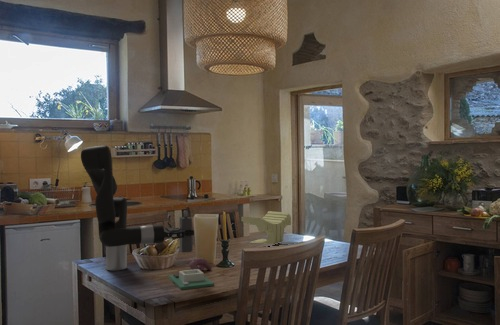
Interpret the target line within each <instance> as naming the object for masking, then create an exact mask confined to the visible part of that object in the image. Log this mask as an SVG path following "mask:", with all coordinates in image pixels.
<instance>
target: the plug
mask: <svg viewBox="0 0 500 325" xmlns="http://www.w3.org/2000/svg"><path fill="white" fill-rule="evenodd" d="M188 213H189V212H188V210H183V217H179V229H180V230H193V229H192V228H193V226H192V224H193V223H192V222H193V221H192V217H190V216H189V217H188ZM180 235H182V233H180ZM193 241H194V240H193V236H185V237H184V238H179V252H180V253H192V252H193Z"/></svg>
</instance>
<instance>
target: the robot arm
mask: <svg viewBox="0 0 500 325" xmlns="http://www.w3.org/2000/svg"><path fill="white" fill-rule="evenodd" d="M80 161H81V163H82V166H83V169H84V170H85V172H86V173H87V175H88V177H89V179H90V181H91V184H92V187H93V189H94V191H95V193H96V197H95V201H94V202H95V203H94V204H95V210H96V218H97V224H98V225H97V227H98V237H99V241H100V243H101V244H102V245H104V246H105V256H106V257H105V265H106V267H105V269H106V270H107V271H122V270H125V269H127V261H128V260H127V258H128V257H127V255H128V254H127V252H128V251H127V247H128V246H127V245H152V244H153V245H155V244H163V243H164V241H165V239H168V240H170V239H171V240H175V239H180V238H184V237H185V236H192V237H193V236H194V235H195V230H193V229H192V230H180V227H164V225H163V224H148V225H141V226H140V225H139V226H129V227H127V223H128V222H127V221H128V220H127V218H128V217H127V215H128V200H127V199H126V197H121V196H120V197H114V196H115V195H116V192H117V190H118V185H117V181H116V179H115V176H114V175H113V158H112V153H111V150H110V147H109V146H108V145H106V144H105V145H97V146H89V147H88V146H87V147H85V148H83V149H82V150H81V151H80ZM116 218H118V220H117V221H116ZM180 233H182V235H180Z"/></svg>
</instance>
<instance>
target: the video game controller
mask: <svg viewBox="0 0 500 325" xmlns="http://www.w3.org/2000/svg"><path fill="white" fill-rule="evenodd" d="M188 264H189V267H190V270H194V269H199V270H200V271H204V269H206V270H208V271H211V270H212V266H211V265H210V263H209V262H208V261H207V259H205V258H203V257H198V258H194V259H193V260H191V261H190V262H189V263H188Z"/></svg>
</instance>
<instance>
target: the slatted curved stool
mask: <svg viewBox="0 0 500 325" xmlns="http://www.w3.org/2000/svg"><path fill="white" fill-rule="evenodd" d="M241 222H243V223H246V224H249V225H252V226H255V227H256V228H257V230H258V232H261V233H265V234H266V235H267V239H266V238H260V239H259V238H258V239H255V240H252V241H250V242H249V244H250V243H264V244H275V243H278V242H282V241H284V233H285V229H286V228H287V227H288V226H292V216H291V215H290V213H288V212H283V211H274V210H273V211H270V210H268V211H267V213H266V214H265V215H264V216H263V217H262V218H260V217H252V216H250V217H249V216H241ZM282 243H283V242H282Z"/></svg>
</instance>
